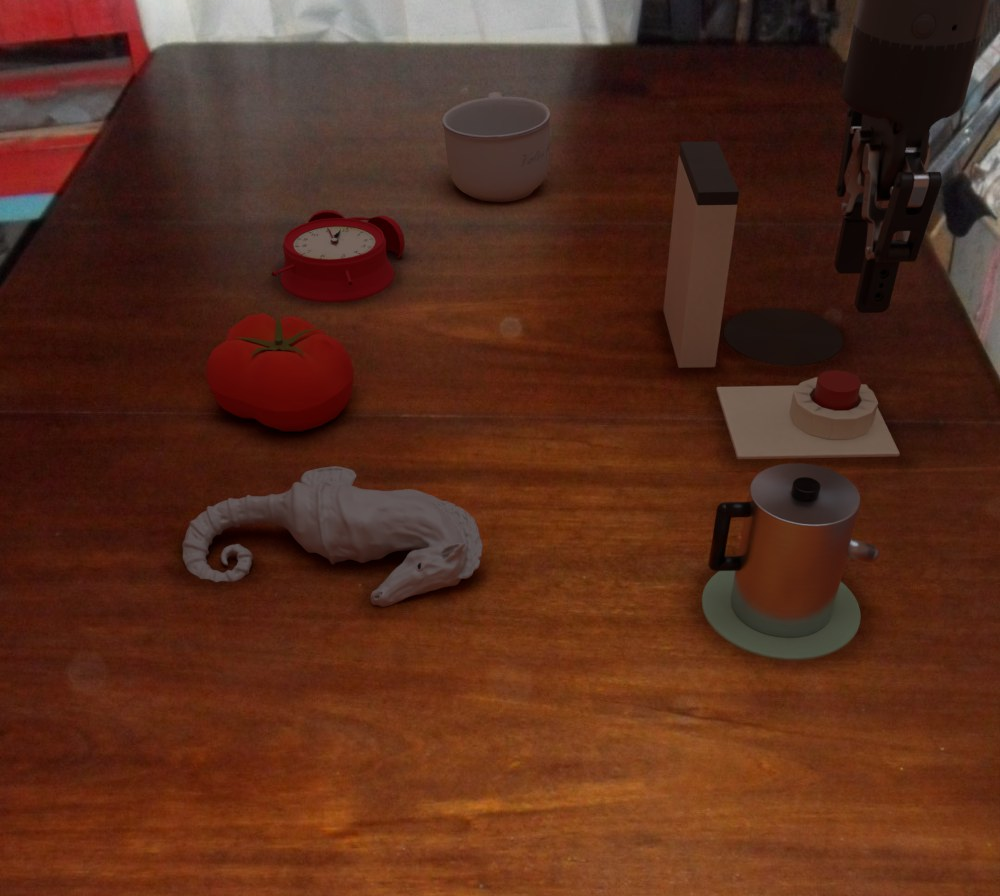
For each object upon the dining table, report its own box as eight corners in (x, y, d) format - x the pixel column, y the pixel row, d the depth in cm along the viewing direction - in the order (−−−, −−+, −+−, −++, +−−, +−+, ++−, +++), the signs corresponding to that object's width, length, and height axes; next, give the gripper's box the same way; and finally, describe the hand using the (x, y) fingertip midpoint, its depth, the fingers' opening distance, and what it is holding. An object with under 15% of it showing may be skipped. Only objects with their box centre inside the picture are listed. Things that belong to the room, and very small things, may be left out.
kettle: (853, 571, 78) (884, 452, 72) (877, 636, 74) (913, 515, 67) (694, 575, 78) (712, 455, 71) (709, 639, 73) (729, 518, 67)
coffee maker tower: (696, 319, 104) (717, 141, 94) (713, 377, 97) (739, 191, 87) (662, 320, 104) (680, 141, 94) (677, 378, 97) (698, 191, 87)
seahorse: (168, 619, 74) (483, 568, 73) (168, 469, 79) (463, 419, 78) (197, 656, 79) (493, 608, 78) (195, 513, 84) (474, 466, 83)
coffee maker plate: (826, 317, 105) (828, 307, 104) (853, 375, 98) (855, 364, 97) (713, 319, 104) (714, 308, 104) (732, 377, 97) (733, 366, 97)
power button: (850, 390, 91) (855, 369, 90) (860, 412, 89) (865, 391, 87) (809, 391, 91) (813, 370, 89) (818, 413, 88) (822, 391, 87)
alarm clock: (253, 267, 104) (308, 165, 111) (269, 325, 109) (320, 224, 117) (366, 279, 102) (414, 175, 109) (376, 338, 107) (422, 235, 115)
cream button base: (863, 397, 95) (871, 363, 93) (896, 467, 88) (906, 432, 86) (714, 400, 95) (719, 365, 93) (735, 470, 88) (741, 435, 86)
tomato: (304, 459, 89) (293, 380, 84) (193, 419, 93) (176, 342, 88) (379, 401, 95) (373, 324, 90) (272, 366, 99) (260, 290, 94)
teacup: (541, 217, 120) (543, 134, 114) (435, 211, 121) (432, 128, 115) (558, 166, 129) (560, 86, 124) (460, 160, 131) (458, 81, 125)
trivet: (838, 565, 80) (840, 555, 79) (875, 666, 73) (878, 656, 72) (690, 568, 80) (691, 558, 79) (713, 669, 73) (714, 659, 72)
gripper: (1021, 57, 66) (942, 339, 78) (945, -14, 77) (886, 245, 89) (888, 59, 66) (829, 340, 78) (830, -12, 76) (785, 247, 88)
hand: (859, 289), depth 83 cm, fingers open, 5 cm apart
